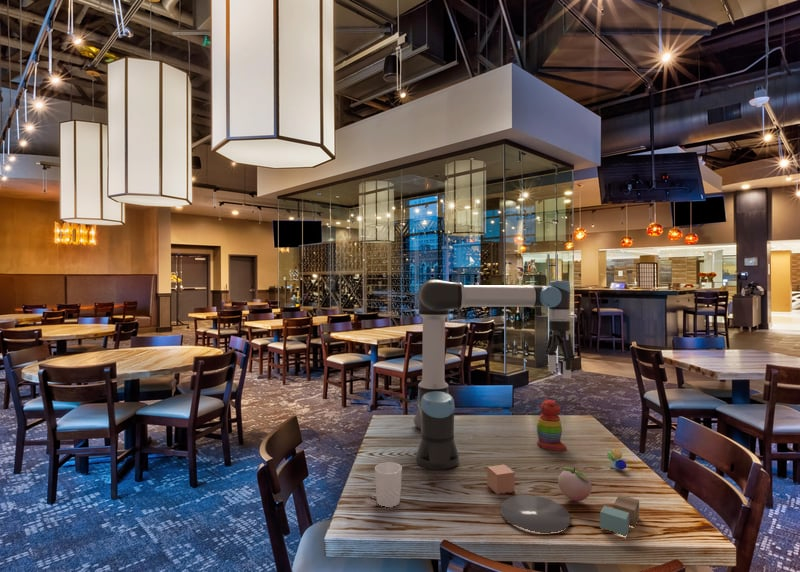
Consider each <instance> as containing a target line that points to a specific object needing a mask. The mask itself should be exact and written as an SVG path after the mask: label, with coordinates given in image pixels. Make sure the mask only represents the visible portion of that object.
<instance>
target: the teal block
mask: <svg viewBox="0 0 800 572" xmlns="http://www.w3.org/2000/svg"><path fill="white" fill-rule="evenodd" d="M599 513H600V517H599V519H600V522H599V523H600V524H599V525H600V526H599V529H600V528H601V529H605V530H609V531H613V532H615V533H618V534H621V535H623V536H626V535H627V533H628V531H629V532H630V528H629V513H628V512H625V511H621V510H618V509H614V507H610V506H607V505H603V507H602V508H601V510H600V512H599ZM628 534H629V533H628Z"/></svg>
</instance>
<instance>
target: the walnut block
mask: <svg viewBox="0 0 800 572" xmlns="http://www.w3.org/2000/svg"><path fill="white" fill-rule="evenodd" d="M613 508H614V509H618V510H621V511H625V512H628V513H629V525H630V526H633V527H635V525H636V526H637V524H636V522H637V520H638V521H639V519H640V499H639V498H638V499H637V498H634V497H630V496H626V495H622V494H618V496H617V498H616V499H615V501H614V502H613ZM638 518H639V519H638ZM637 523H638V522H637ZM635 528H636V527H635Z"/></svg>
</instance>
